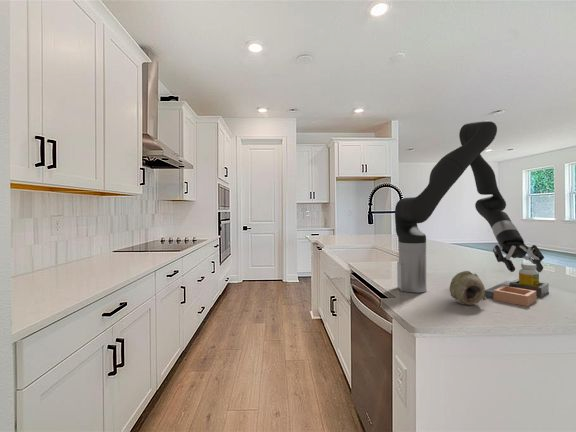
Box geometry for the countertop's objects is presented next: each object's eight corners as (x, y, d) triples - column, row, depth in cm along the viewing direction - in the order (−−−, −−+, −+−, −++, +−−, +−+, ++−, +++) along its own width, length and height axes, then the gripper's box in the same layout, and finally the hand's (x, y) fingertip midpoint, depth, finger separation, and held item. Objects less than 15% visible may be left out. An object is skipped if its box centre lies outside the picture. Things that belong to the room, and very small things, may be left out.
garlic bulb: (443, 301, 92) (443, 269, 92) (462, 297, 96) (462, 267, 95) (473, 310, 84) (472, 275, 83) (492, 306, 87) (492, 272, 87)
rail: (529, 305, 87) (529, 295, 87) (484, 296, 96) (484, 287, 96) (548, 292, 100) (548, 283, 100) (507, 285, 109) (507, 277, 109)
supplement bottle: (522, 289, 105) (522, 262, 104) (541, 292, 100) (541, 264, 100) (516, 291, 102) (516, 263, 101) (535, 295, 97) (535, 266, 97)
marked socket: (527, 306, 86) (527, 296, 86) (493, 299, 93) (493, 290, 93) (536, 300, 91) (536, 291, 91) (503, 294, 98) (503, 285, 98)
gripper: (490, 228, 111) (508, 264, 100) (532, 228, 109) (555, 264, 98) (483, 241, 116) (500, 276, 105) (522, 241, 114) (544, 277, 103)
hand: (526, 270), depth 102 cm, fingers open, 8 cm apart
